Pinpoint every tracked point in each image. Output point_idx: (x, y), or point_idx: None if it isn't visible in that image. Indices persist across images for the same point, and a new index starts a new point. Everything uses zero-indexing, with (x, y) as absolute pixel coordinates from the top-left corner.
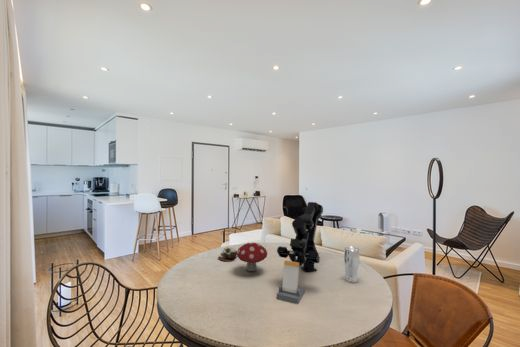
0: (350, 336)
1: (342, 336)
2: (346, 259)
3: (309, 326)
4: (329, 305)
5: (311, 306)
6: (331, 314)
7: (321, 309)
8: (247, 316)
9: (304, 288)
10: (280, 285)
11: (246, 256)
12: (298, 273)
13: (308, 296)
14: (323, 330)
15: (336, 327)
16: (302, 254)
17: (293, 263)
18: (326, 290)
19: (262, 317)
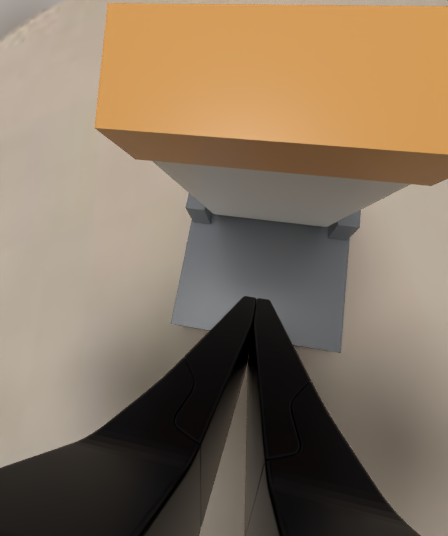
0: (6, 44)
1: (33, 34)
2: None
3: None
4: (45, 219)
5: (137, 180)
6: (48, 146)
7: (89, 170)
8: (430, 4)
9: (172, 318)
10: (355, 217)
11: None
12: (175, 177)
13: (154, 281)
14: (95, 39)
15: (44, 71)
16: None
17: (231, 30)
18: (34, 402)
19: None
